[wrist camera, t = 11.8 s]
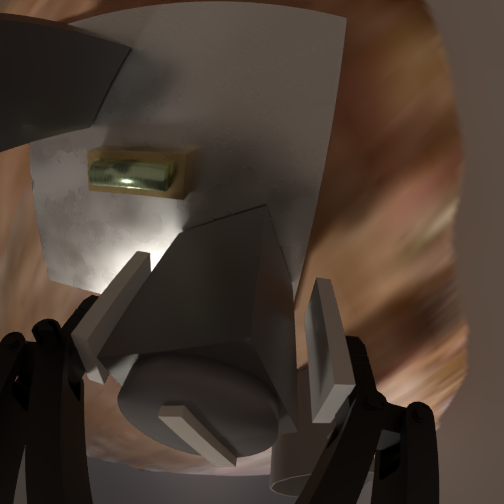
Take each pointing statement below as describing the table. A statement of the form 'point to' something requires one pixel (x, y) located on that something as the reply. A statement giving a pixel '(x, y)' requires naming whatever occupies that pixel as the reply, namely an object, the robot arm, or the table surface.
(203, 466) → the table surface
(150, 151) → the bubble vial
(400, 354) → the table surface
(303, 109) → the base plate
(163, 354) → the knob
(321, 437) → the cup
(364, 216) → the table surface
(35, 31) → the knob
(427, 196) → the table surface
